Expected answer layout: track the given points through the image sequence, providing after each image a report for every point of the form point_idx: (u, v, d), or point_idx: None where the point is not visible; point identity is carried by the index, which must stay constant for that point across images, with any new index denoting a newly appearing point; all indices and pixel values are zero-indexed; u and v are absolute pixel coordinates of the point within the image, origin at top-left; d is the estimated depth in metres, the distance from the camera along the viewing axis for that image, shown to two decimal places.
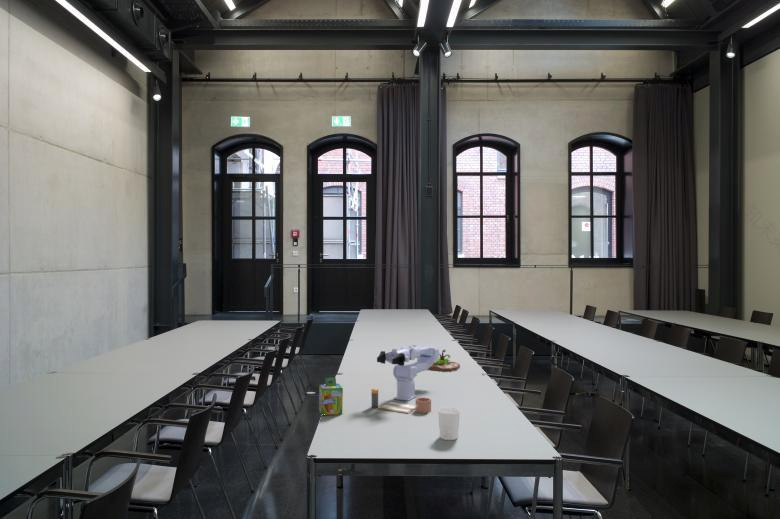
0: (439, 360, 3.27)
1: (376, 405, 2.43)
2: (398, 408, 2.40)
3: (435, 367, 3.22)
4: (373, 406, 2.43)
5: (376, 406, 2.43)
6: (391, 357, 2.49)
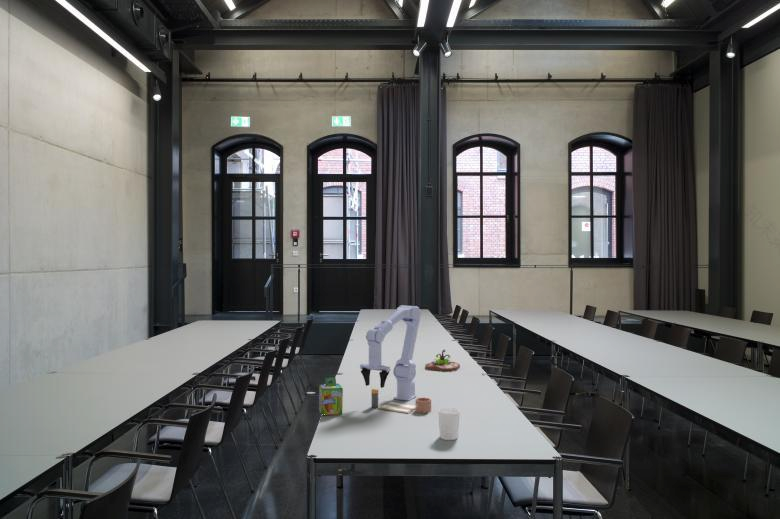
0: (439, 360, 3.27)
1: (376, 405, 2.43)
2: (398, 408, 2.40)
3: (435, 367, 3.22)
4: (373, 406, 2.43)
5: (376, 406, 2.43)
6: (373, 369, 2.44)
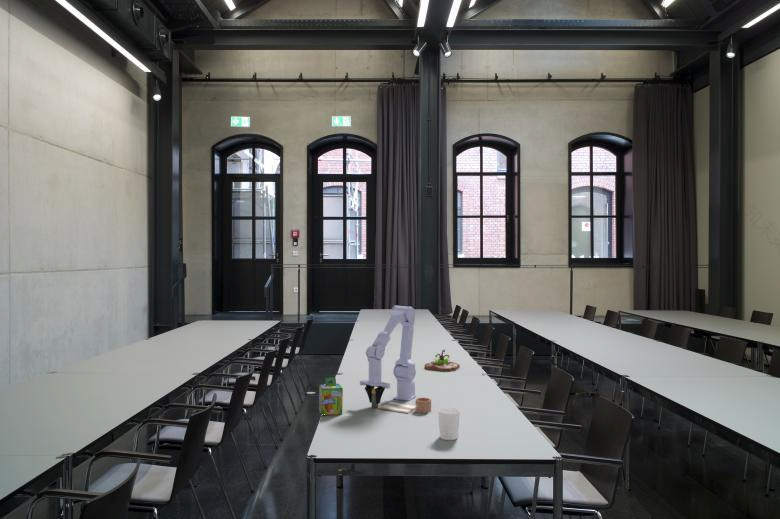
0: (438, 360, 3.27)
1: (376, 405, 2.43)
2: (398, 408, 2.40)
3: (434, 367, 3.22)
4: (373, 406, 2.43)
5: (376, 406, 2.43)
6: (373, 386, 2.44)
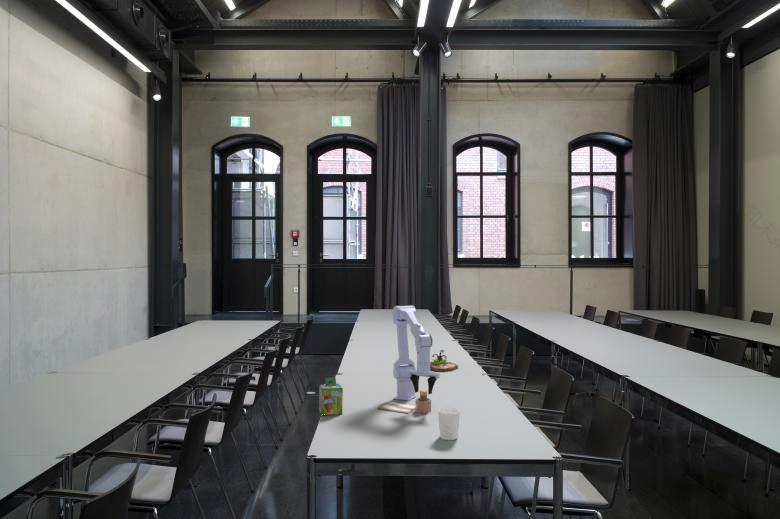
0: (436, 360, 3.27)
1: None
2: (398, 408, 2.40)
3: (430, 367, 3.22)
4: None
5: None
6: None
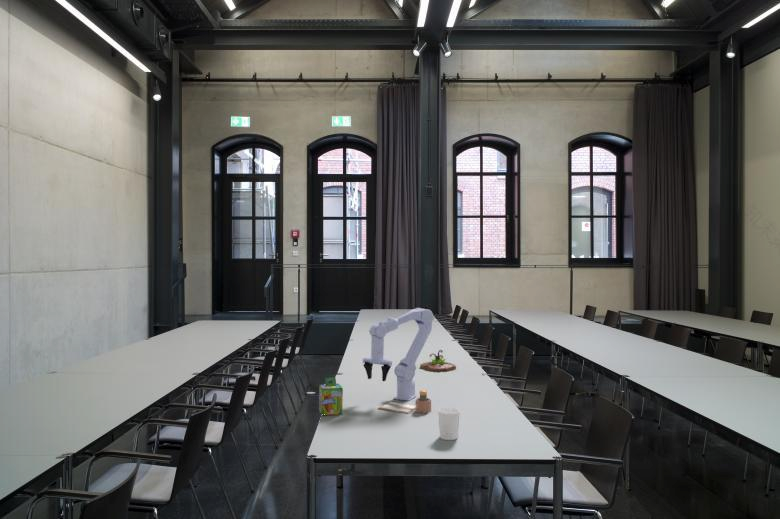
0: (433, 360, 3.27)
1: None
2: (398, 408, 2.40)
3: (426, 366, 3.24)
4: None
5: None
6: (375, 363, 2.52)
